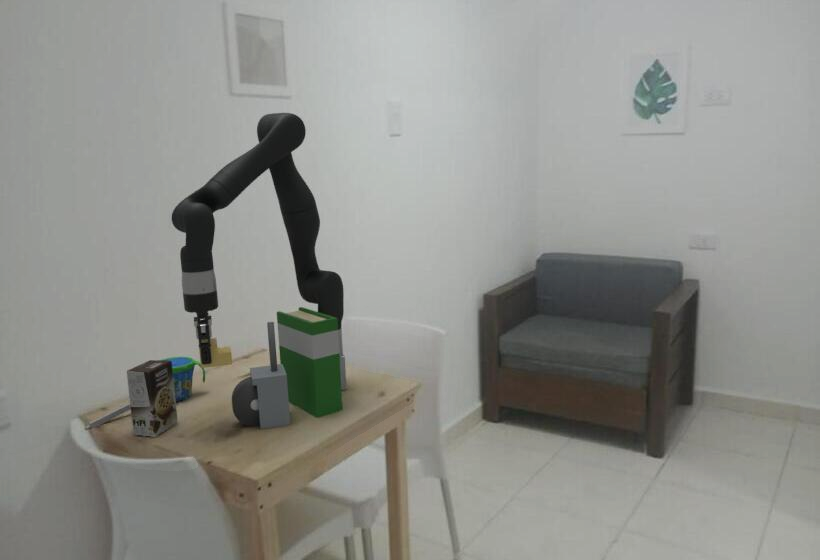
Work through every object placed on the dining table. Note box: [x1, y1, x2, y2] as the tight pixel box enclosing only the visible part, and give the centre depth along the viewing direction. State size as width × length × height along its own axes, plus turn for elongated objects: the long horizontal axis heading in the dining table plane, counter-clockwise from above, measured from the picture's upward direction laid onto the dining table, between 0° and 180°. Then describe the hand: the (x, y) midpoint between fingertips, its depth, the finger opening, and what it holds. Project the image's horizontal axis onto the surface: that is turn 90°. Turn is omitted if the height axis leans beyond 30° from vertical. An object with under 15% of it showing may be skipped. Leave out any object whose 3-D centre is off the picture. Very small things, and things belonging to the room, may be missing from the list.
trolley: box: [231, 321, 291, 430], centre depth 160 cm, size 13×9×25 cm
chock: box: [198, 337, 233, 369], centre depth 156 cm, size 7×5×6 cm
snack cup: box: [162, 356, 206, 402], centre depth 181 cm, size 16×10×10 cm
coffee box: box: [126, 359, 179, 438], centre depth 159 cm, size 9×6×16 cm
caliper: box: [84, 402, 131, 430], centre depth 169 cm, size 20×1×6 cm, turn 138°
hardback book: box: [276, 306, 344, 419], centre depth 171 cm, size 18×7×24 cm, turn 39°
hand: (206, 359), depth 156 cm, fingers closed on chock, 5 cm apart
